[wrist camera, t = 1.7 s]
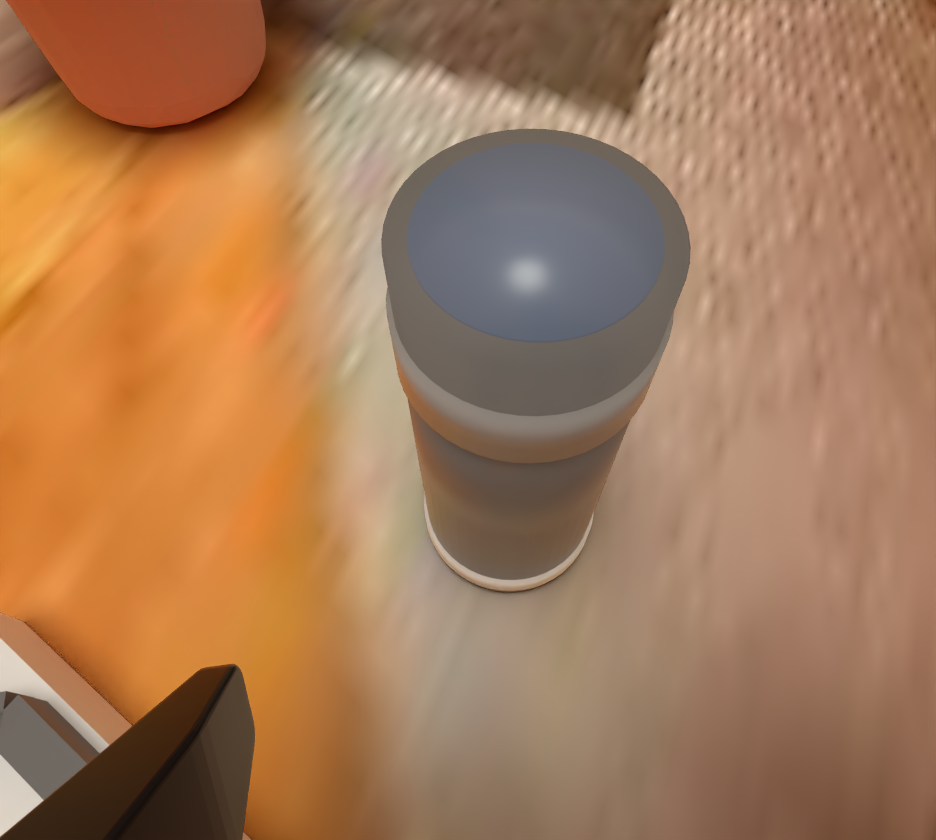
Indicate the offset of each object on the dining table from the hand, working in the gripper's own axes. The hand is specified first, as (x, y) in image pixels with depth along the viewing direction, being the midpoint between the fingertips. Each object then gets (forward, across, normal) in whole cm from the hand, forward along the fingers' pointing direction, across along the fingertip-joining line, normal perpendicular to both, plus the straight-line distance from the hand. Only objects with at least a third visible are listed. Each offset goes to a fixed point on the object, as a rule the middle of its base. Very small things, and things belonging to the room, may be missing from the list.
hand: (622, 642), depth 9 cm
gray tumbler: (+13, 0, +4) cm, 14 cm away
